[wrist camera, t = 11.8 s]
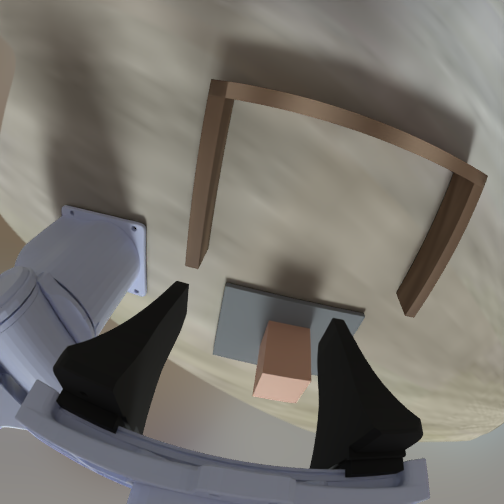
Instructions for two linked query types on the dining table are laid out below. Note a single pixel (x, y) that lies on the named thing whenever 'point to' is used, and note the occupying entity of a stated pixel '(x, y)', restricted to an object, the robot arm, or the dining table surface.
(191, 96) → the dining table surface
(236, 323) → the grey mat
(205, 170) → the open side frame
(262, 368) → the terracotta block
